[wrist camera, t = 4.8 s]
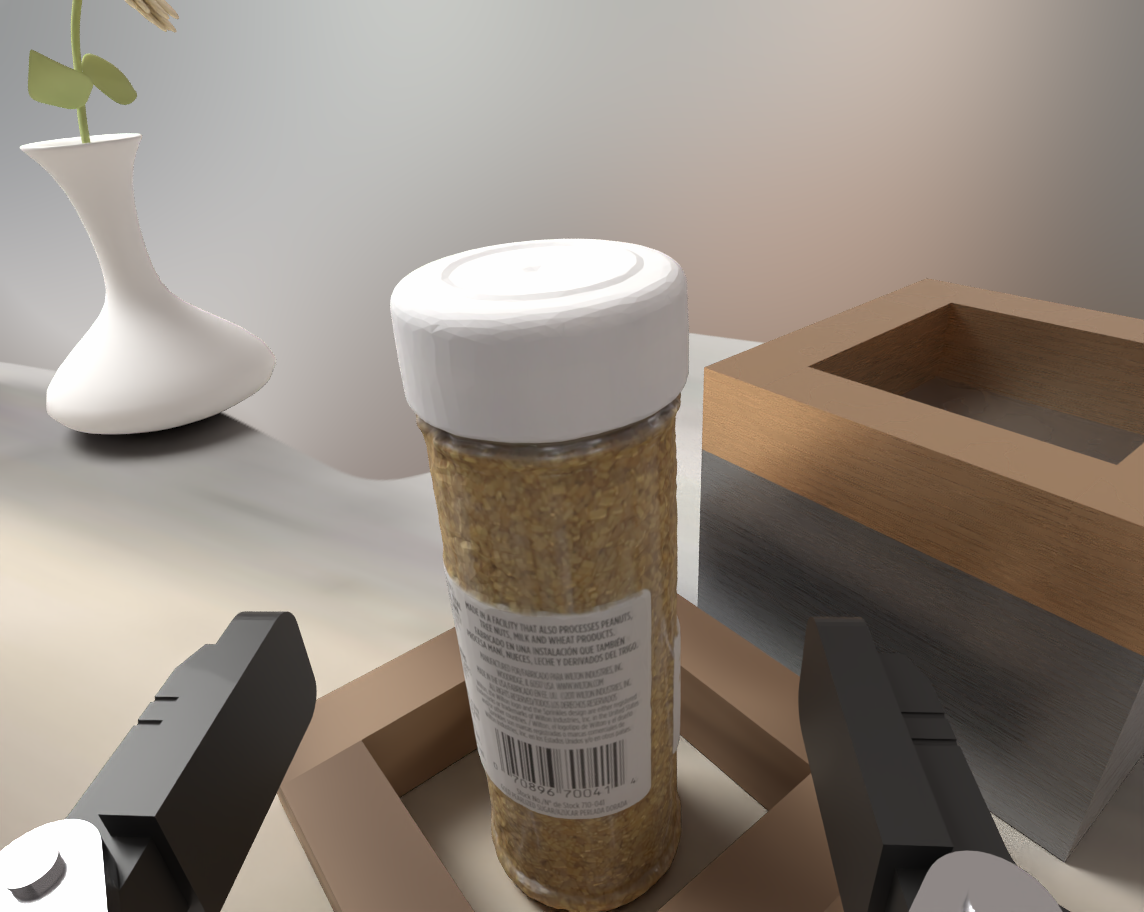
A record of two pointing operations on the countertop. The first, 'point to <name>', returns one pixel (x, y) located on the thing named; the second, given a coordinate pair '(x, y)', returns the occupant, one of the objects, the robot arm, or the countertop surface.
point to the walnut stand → (446, 734)
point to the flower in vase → (131, 278)
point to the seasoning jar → (560, 543)
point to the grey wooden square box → (950, 523)
